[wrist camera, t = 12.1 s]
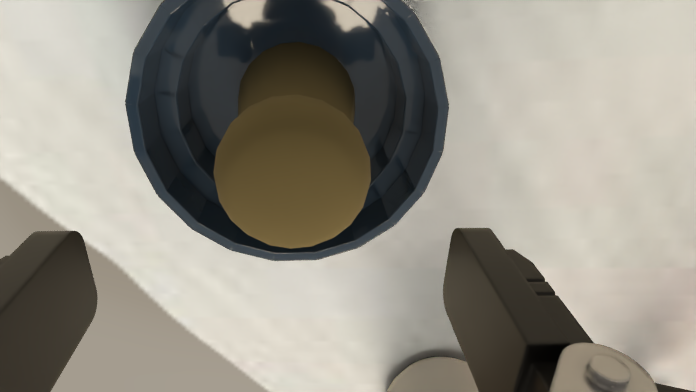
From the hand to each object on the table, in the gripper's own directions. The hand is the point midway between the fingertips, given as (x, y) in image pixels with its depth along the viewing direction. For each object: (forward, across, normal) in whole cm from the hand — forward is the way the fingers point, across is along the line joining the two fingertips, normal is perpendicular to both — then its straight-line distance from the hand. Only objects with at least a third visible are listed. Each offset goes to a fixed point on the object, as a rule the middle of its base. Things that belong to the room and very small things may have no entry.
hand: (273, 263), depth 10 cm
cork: (+15, 0, 0) cm, 15 cm away
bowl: (+16, 0, 0) cm, 16 cm away
